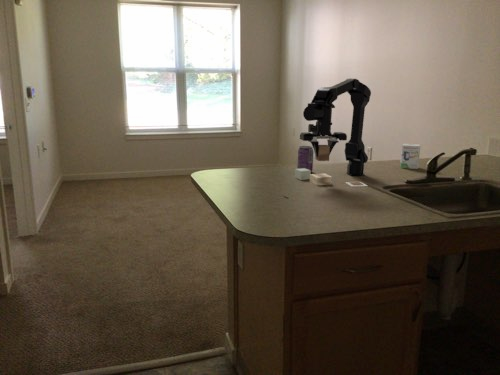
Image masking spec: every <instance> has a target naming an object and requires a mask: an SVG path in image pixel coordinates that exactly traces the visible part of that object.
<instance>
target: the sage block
mask: <svg viewBox="0 0 500 375" xmlns="http://www.w3.org/2000/svg"><path fill="white" fill-rule="evenodd" d="M310 174H311V170H308V169H305V168H302V169H297V168H295V169H294V178H295V179H297V180H300V181H302V180H304V181H305V180H310Z"/></svg>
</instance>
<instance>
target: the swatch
mask: <svg viewBox="0 0 500 375" xmlns="http://www.w3.org/2000/svg"><path fill="white" fill-rule="evenodd" d="M345 184H346V185H348V186H350V187H351V188H357V187H358V188H359V187H360V188H361V187H369V186H368V185H367V184H365V183H363V182H361V181H347V182H346V181H345Z"/></svg>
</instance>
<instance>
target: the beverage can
mask: <svg viewBox="0 0 500 375" xmlns="http://www.w3.org/2000/svg"><path fill="white" fill-rule="evenodd" d="M313 164H314V149H313V146H311V145H300V146H299V148H298V150H297V168H296V169H302V168H305V169H308V170H311V172H313V166H314V165H313Z"/></svg>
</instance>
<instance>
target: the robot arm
mask: <svg viewBox="0 0 500 375" xmlns="http://www.w3.org/2000/svg"><path fill="white" fill-rule="evenodd" d="M345 93H347V94H348V95H349V96H350V102H351V105H352V106H353V110H352V119H351V120H352V121H351V129H350V137H349V138H350V139H349V140H348V141H347V139H348V135H347V133H345V132H342V131H334V132H333V133H332V131H331V130H332V125H333V122H332V116H333V115H332V114H333V109H335V108H336V106H335V105H334V102H335V101H336V100H338V98H339V96H340V95H343V94H345ZM371 95H372V91H371V89H370V88H369V86H367V85H366V84H364V83H362V82H360V80H359V79H357V78H346V79H345V80H343V81H340V82H339V83H337V84H335V85H333V86H327V87H326V86H324V87H319V88H318V89H317V90H316V93H315V94H314V96H313V98H312V100H311V102H308V103H307V106H306V107H305V108H303V109H304V110H303V113H302V115H303V116H302V117H303V118H304V120H305V121H308V122H311V121H315V124H313V123H309V124H308V126H307V127H308V128H307V130H308V132H307V131H306V132H301V133H300V135H299V140H301V141H303V142H309V143H310V144H311V145H312V146H311V147H313V148H312V149H313V153H314V157H315V156H316V157H318V146H319V145H320V141H318V139H321V140H323V139H326V140H327V145H328V146H330V153H329V156H330V155H331V153H332V151H333V150H334V147H335V146H336V145H337V143H339V141H347V142H345V143H344V145H345V146H344V147H345V148H344V155H345V161H348V163H347V167H346V168H347V170H346V174H348V175H350V176H351V177H352V176H353V177H355V176H356V177H357V176H365V173H364V168H365V164H366V163H368V160H369V157H368V154H367V153H366V150H365V144H364V141H363V127H364V119H365V111H366V106H367V105H368V103H369V102H370V98H371Z"/></svg>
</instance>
